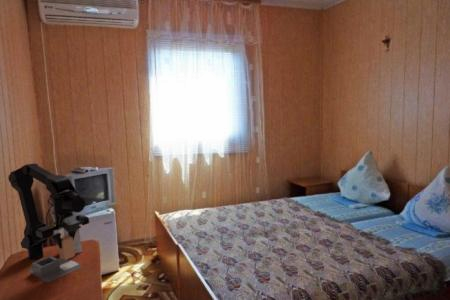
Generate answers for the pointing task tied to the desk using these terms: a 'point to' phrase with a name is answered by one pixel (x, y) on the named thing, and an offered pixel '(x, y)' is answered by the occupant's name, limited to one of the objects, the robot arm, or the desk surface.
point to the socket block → (53, 268)
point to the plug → (66, 247)
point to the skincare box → (76, 241)
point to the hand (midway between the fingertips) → (66, 246)
